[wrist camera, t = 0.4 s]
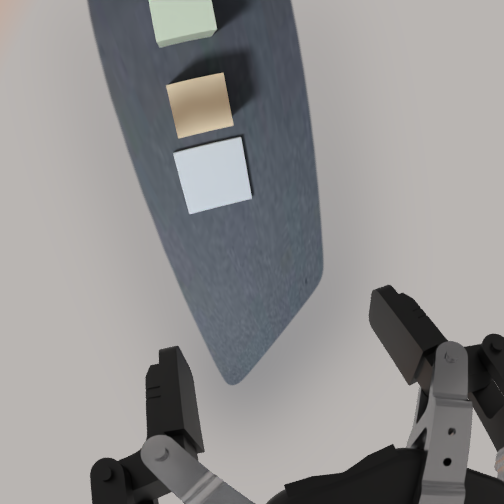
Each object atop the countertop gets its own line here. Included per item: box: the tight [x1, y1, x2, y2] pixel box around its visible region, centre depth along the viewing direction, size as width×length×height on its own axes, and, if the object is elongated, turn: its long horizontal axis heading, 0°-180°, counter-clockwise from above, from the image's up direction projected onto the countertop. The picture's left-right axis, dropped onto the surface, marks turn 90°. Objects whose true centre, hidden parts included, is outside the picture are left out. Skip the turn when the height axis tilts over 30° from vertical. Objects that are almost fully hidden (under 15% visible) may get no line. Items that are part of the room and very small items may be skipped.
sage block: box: [149, 0, 217, 48], centre depth 22 cm, size 5×5×5 cm
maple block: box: [166, 73, 233, 138], centre depth 27 cm, size 5×5×4 cm
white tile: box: [173, 137, 252, 214], centre depth 33 cm, size 7×7×1 cm
